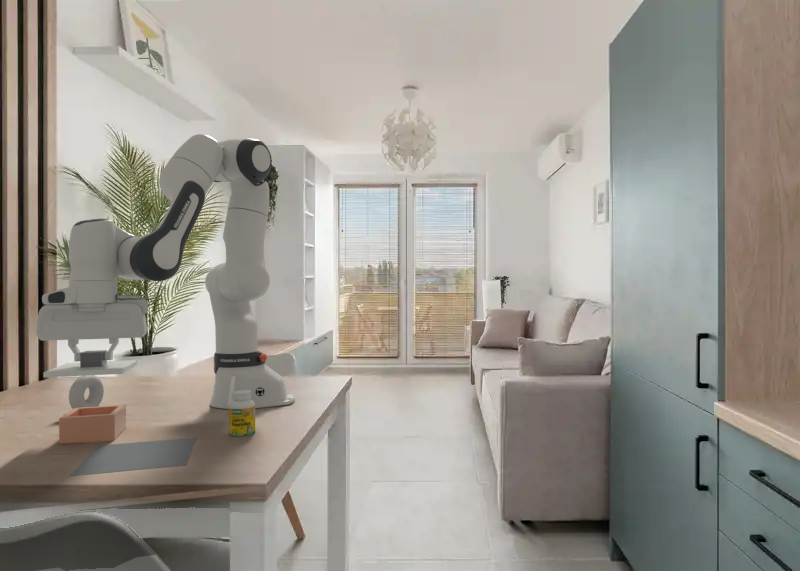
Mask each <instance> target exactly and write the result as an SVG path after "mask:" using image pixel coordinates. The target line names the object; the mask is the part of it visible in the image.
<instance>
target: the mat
mask: <svg viewBox="0 0 800 571" xmlns="http://www.w3.org/2000/svg"><path fill="white" fill-rule="evenodd" d="M197 439H198V438H197V437H188V438H176V439H175V438H174V439H163V440H153V441H152V440H149V441H138V442H135V441H134V442H124V443H113V444H101V445H98V447H96V448H95V450H93V451H92V453H90V454H89V456H87V457H86V459H84V460H83V462H82V463H81V464H80V465H78V467H76V469H74V471H73V472H72V473H71V474H70V475H69V477H76V476H86V475H96V474H98V475H99V474H108V473H117V472H118V473H120V472H128V471H138V470H139V471H141V470H151V469H153V470H154V469H162V468H173V467H184V466H187V465H188V462H189V459H190V457H191V454H192V451H193V449H194V446H195V444H196V441H197Z"/></svg>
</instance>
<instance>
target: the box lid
mask: <svg viewBox="0 0 800 571" xmlns="http://www.w3.org/2000/svg"><path fill="white" fill-rule="evenodd" d="M105 351H108V350H105V349H103V350H85V351H82V353H80V361H79V362H67V363H66V362H65V363H63V364H61V365H59V366H57V367H54V368H51V369H48V370H47V371H43V373H42V374H43V378H59V377H63V378H64V377H65V378H66V377H81V376H87V375H95V376H103V375H104V376H106V375H109V376H110V375H123V374H125V373H127V372H128V371H129V370H131V369H133V368H134V367H136V366H138V360H136V359H134V360H133V359H132V360H104V359H103V357H104V356H103V352H105Z"/></svg>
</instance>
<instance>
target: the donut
mask: <svg viewBox="0 0 800 571" xmlns="http://www.w3.org/2000/svg"><path fill="white" fill-rule="evenodd" d="M87 389H88V396H87V398H86V399H85V393H86V390H87ZM104 391H105V390H104V385H103V382H102V380H101V379H100V378H99V377H98V375H87V376H78V378H77V379H75V380H74V381H73V383H72V385H71V386H70V389H69V393H68V401H69V405H70V407H71V410H73V409H74V408H80V407H96V406H99V405H100V404H101V402H102V400H103V398H104Z"/></svg>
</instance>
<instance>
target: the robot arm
mask: <svg viewBox="0 0 800 571" xmlns="http://www.w3.org/2000/svg"><path fill="white" fill-rule="evenodd" d="M271 169H272V154H271V152H270V149H269V147H268V146H267V144H266V143H265V142H263V141H261V140H259V139H255V138H245V139H244V138H243V139H242V138H241V139H240V138H233V139H227V140H222V141H217V140H216V139H215V138H214V137H212V136H210V135H207V134H204V133H203V134H201V133H198V134H193V135H192V136H190V137H189V138H188V139H187V140H185V141H184V142H183V144H182V145H180V147H179V148H178V149H177V150H176V151H175V152H174V153H173V155H172V156H171V158H170V159H169V160H168V162H167V163H166V165H165V166H164V168H163V169H162V171H161V174H160V177H159V179H158V183H159V187H160V190H161V193H162V194H163V195H164V196H165V197H166V198H167V199H168V200H169V201H170V202H171V203H170V205H169V207H168V209H167V211H166V213H165V215H164V216H163V218H162V220H161V221H160V224H159V225H158V227H157V228H156V229H155V230H154V231H152V232H150V233H147V234H145V235H141V236H140V235H139V236H136V235H134V234H131V233H129V232H127V231H126V230H124V229H122V228H121V227H119V226H118V225H117V224H115V223H114V221H113V220H112V219H110V218H93V219H91V218H90V219H84V220H79V221H77V222H76V223H75V224H74V225H72V227H71V230H70V236H69V244H68V262H69V264H70V275H69V277H68V286H67V287H65V288H61V289H58V290H54V291H50V292H47V293H44V294H43V295H42V297H41V300H42V301H41V302H42V304H44V305H43V306H42V307H41V308H40V309H39V311H38V315H37V319H36V328H35V329H36V331H35V332H36V337H37V338H38V339H39V340H40V341H42V342H43V341H67V346H68V347H69V349H70V350H71V352H72V353H73V356H74V357H73V360H74V363H78V362H80V353H82V352H83V351H82V352H81V351H80V349H79V347H78V346H77V345H79V343H80V342H79V341H80V340H104V339H108V343H109V344H110V345H111V346H110V347H109V349H108V350H107V351H105V352H103V356H104V357H103V359H104V360H107V361H114V360H113V359H114V351H115V350H116V348H117V346H118V345H119V343H120V339H138V338H140V339H141V338H143V337H144V336H146V334H147V333H148V327H147V325H148V324H147V318H146V317H147V316H146V314H147V312H148V301H147V299H146V298H145V297H143V296H140V294H118V278H119V279H123V280H129V281H130V280H131V281H145V280H146V281H151V282H164V281H167V280H169V279H171V278H172V277H174V276H175V275H176V274H177V272H178V271H179V269H180V267H181V266H182V261H183V255H184V249H185V245H186V243H187V241H188V239H189V236H190V234H191V232H192V230H193V228H194V226H195V225H196V222H197V220H198V217H199V216H200V213H201V211H202V209H203V207H204V204H205V201H206V195H207V193H208V191H209V190H210V189H211V187H212V186H213V183H222V182H223V183H229V185H230V191H231V194H230V197H229V202H228V204H227V205H228V206H227V211H226V217H225V221H224V227H223V232H222V239H223V242H224V245H225V262H223V263H219V264H217V265H215V266H214V267H213V268H211V270H209V271H208V272H207V274H206V276H205V280H204V284H205V288H206V291H207V292H208V294H209V300H210V304H211V308H212V309H211V310H212V314H213V318H214V327H215V352H214V354H213V371H214V372H213V373H214V384H213V390H212V395H211V399H210V403H209V406H211V407H213V408H218V409H226V410H229V404H230V403H231V402H232V401H233V399H232V392H234V391H238V390H250V391H251V395H252V396H251V398H250V400H253V401H254V403H255V409H259V408H269V407H271V408H272V407H278V406H288V405H291V404H293V403H294V402H295V396H294V394H292V393H290V392H288V391H287V387H286V382H285V379H284V377H282V376H281V375H280V374H279V373H278V372H276V371H275V370H274V369H272V368H271V367H269V365H267V364H265V363H266V361H267V360H268V359H267V358H268V356H267V354H266V353H263V352H262V351H260V350H258V349H259V348H258V322H257V319H256V318H255V316H254V314H253V311H252V306H251V303H250V302H252V301H255V300H258V299H259V298H261V297H262V296H264V295H265V294H266V293H267V292H268V290H269V287H270V284H271V283H270V282H271V280H270V275H269V272H268V270H267V269H266V262H265V248H264V246H265V238H266V231H267V223H268V219H269V213H270V212H269V210H270V187H269V184H268V182H267V180H268V178H269V175H270V171H271Z"/></svg>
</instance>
